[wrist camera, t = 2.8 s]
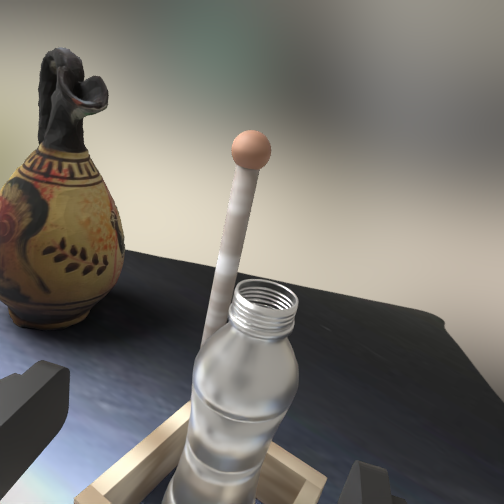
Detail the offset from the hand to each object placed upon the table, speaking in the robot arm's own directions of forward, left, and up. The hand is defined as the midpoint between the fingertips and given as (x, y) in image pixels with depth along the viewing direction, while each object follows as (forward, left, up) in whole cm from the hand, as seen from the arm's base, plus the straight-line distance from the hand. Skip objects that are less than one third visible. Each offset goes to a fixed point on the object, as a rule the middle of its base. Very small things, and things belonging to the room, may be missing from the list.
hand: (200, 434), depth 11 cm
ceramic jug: (+20, +36, -22) cm, 47 cm away
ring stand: (+10, +4, -22) cm, 24 cm away
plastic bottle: (+10, +4, -22) cm, 24 cm away
